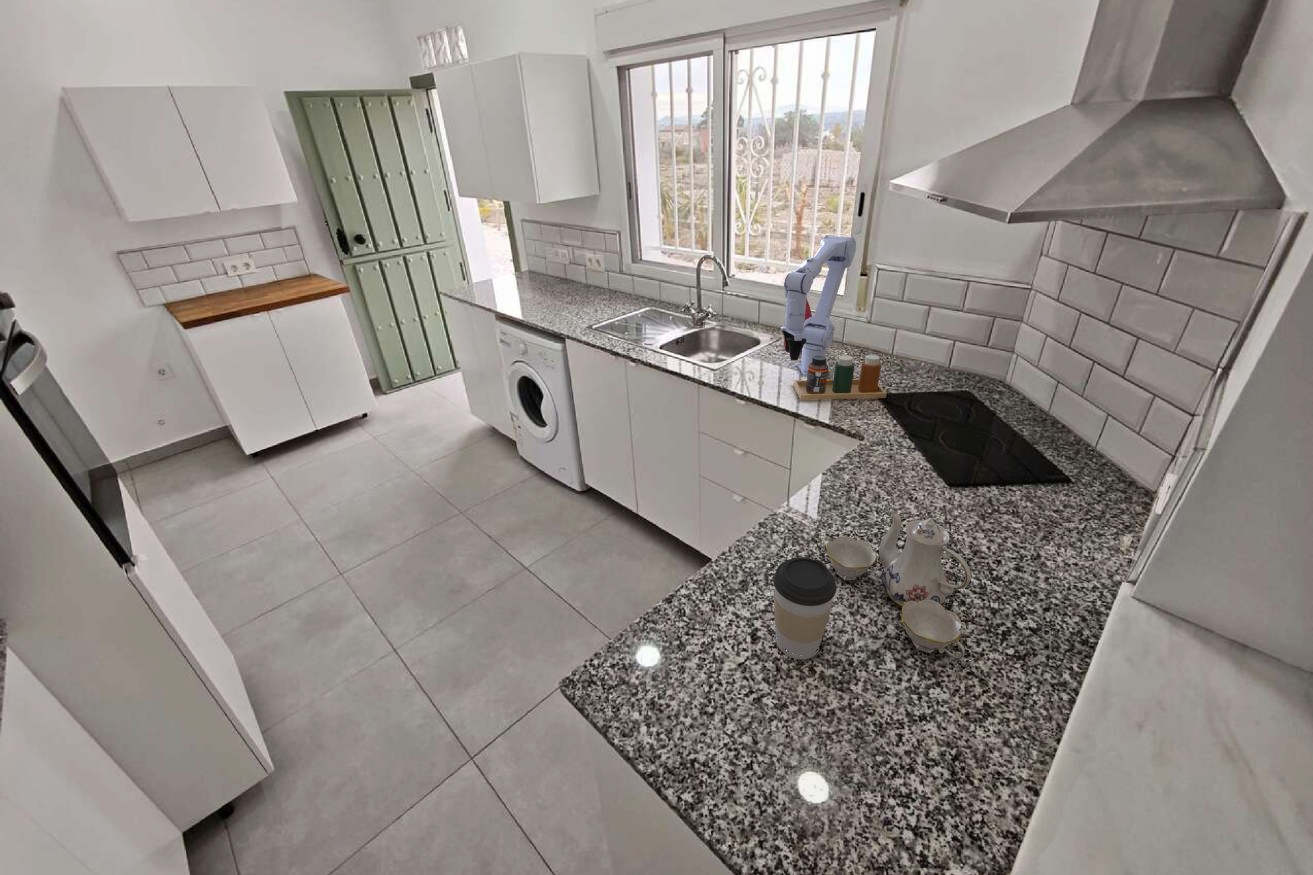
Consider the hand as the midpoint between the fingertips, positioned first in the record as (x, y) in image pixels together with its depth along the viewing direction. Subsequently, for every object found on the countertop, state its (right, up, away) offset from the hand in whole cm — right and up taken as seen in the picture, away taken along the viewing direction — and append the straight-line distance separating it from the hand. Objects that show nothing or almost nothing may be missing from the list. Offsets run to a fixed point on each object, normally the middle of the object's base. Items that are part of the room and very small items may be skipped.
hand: (791, 355), depth 169 cm
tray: (+14, -12, -1) cm, 18 cm away
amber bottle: (+23, -11, -2) cm, 26 cm away
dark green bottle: (+15, -11, -1) cm, 19 cm away
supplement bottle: (+7, -12, -1) cm, 14 cm away
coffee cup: (-20, -59, -83) cm, 104 cm away
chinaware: (-1, -54, -77) cm, 94 cm away
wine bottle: (+11, +8, +36) cm, 39 cm away
